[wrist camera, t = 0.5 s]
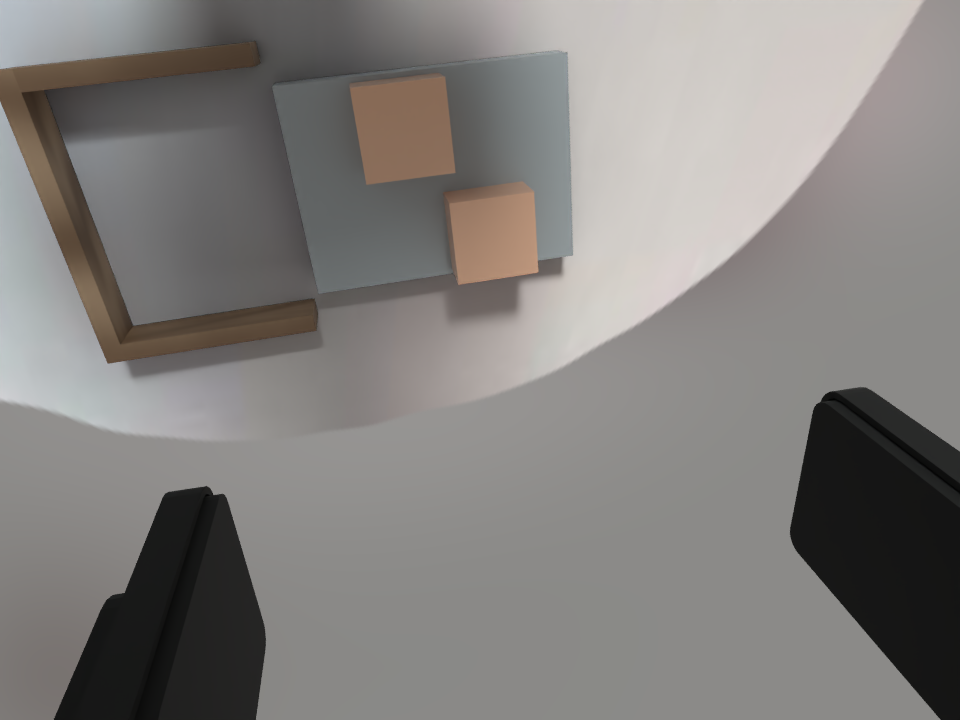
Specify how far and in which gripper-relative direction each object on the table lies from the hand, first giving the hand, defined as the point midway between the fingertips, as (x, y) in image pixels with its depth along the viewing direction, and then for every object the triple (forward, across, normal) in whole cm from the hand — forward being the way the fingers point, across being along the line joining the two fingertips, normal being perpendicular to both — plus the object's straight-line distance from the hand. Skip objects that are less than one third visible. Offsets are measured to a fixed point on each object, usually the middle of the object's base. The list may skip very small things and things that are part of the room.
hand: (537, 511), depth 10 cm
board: (+30, -2, 0) cm, 30 cm away
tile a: (+28, 0, -2) cm, 29 cm away
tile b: (+28, -4, +4) cm, 29 cm away
